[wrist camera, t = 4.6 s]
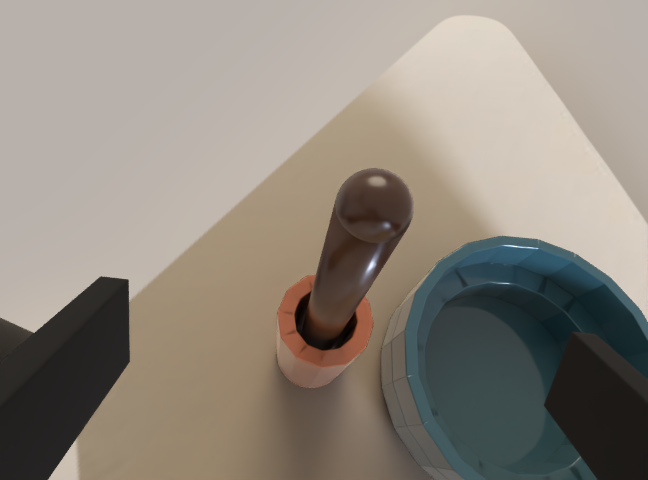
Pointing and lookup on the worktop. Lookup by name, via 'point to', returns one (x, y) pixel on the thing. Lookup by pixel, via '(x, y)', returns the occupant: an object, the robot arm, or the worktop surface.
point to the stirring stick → (355, 250)
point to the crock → (305, 360)
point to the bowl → (498, 357)
